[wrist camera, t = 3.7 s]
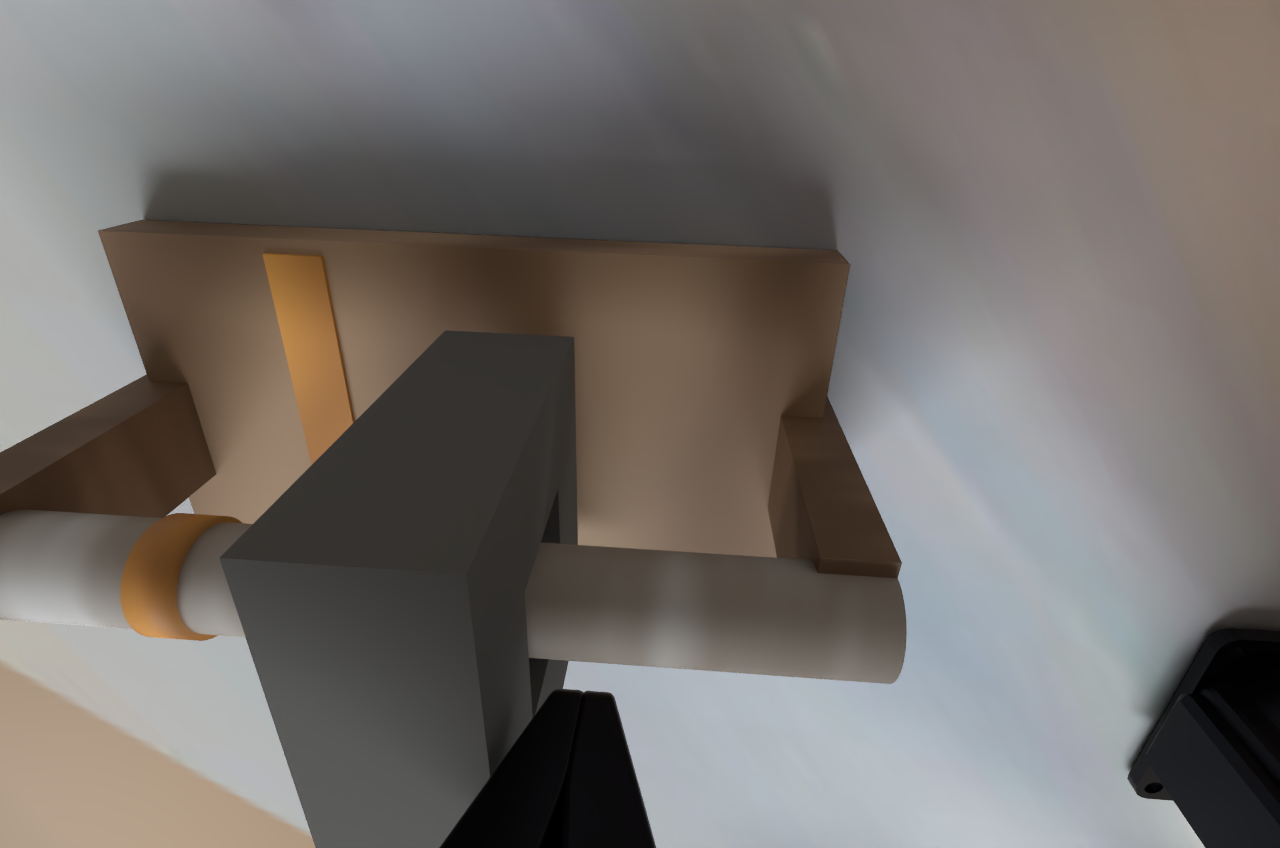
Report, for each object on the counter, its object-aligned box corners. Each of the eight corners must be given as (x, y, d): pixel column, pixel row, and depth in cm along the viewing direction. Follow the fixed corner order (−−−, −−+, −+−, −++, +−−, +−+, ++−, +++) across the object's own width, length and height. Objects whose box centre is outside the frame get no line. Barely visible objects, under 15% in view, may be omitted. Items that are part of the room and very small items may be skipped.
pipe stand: (851, 251, 14) (989, 388, 7) (793, 586, 18) (849, 855, 12) (128, 219, 14) (-300, 321, 8) (233, 549, 18) (3, 784, 12)
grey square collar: (573, 336, 12) (465, 574, 6) (579, 610, 15) (510, 943, 9) (445, 330, 12) (219, 557, 6) (475, 602, 15) (342, 927, 9)
